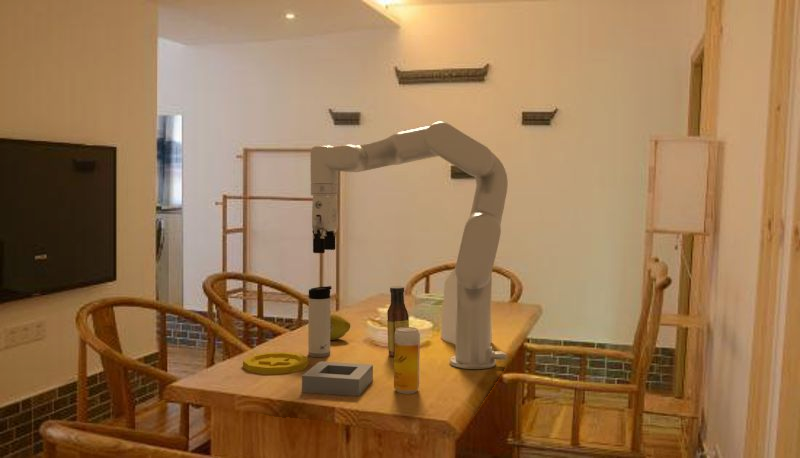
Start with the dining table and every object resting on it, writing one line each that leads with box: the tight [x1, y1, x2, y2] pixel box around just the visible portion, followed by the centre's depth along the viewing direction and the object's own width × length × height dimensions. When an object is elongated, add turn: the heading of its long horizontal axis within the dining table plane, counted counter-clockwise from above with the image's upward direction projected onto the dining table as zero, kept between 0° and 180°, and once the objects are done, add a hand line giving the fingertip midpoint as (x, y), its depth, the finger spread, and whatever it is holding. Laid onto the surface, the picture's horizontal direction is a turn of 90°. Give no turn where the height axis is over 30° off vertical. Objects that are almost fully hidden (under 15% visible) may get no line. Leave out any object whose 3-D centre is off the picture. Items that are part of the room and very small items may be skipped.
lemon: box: [330, 313, 351, 341], centre depth 230 cm, size 11×8×8 cm
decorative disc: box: [242, 351, 309, 375], centre depth 198 cm, size 17×18×2 cm
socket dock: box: [301, 360, 374, 397], centre depth 179 cm, size 14×14×4 cm
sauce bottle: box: [386, 285, 410, 358], centre depth 210 cm, size 6×6×20 cm
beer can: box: [393, 326, 421, 395], centre depth 175 cm, size 6×6×15 cm
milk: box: [440, 268, 493, 346], centre depth 230 cm, size 12×12×26 cm
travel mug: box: [307, 285, 333, 358], centre depth 210 cm, size 6×7×20 cm
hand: (324, 251), depth 205 cm, fingers open, 9 cm apart
